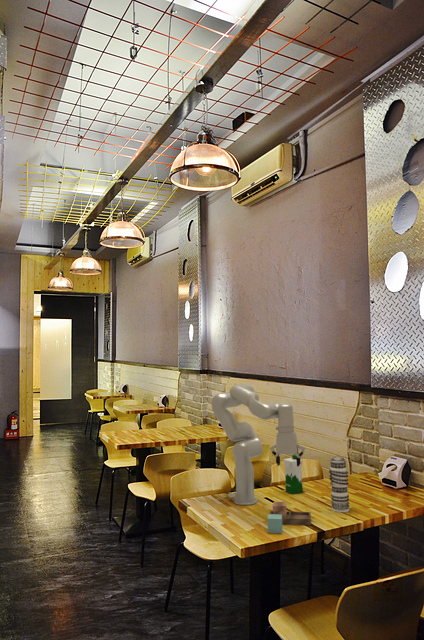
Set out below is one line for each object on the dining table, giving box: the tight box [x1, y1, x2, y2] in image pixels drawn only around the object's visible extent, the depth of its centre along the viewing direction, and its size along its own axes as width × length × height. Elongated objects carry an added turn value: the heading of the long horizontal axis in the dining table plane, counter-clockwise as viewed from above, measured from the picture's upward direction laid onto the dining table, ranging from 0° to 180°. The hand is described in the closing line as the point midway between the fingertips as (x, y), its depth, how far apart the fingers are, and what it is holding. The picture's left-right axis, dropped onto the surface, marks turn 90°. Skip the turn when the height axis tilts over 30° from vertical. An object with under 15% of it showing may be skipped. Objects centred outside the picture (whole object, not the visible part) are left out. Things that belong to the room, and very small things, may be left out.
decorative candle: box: [328, 456, 350, 513], centre depth 232 cm, size 9×9×25 cm
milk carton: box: [283, 454, 304, 495], centre depth 264 cm, size 9×9×20 cm
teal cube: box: [267, 514, 284, 534], centre depth 205 cm, size 6×6×6 cm
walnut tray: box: [269, 501, 312, 526], centre depth 217 cm, size 19×10×8 cm, turn 79°
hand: (288, 465), depth 228 cm, fingers open, 9 cm apart
